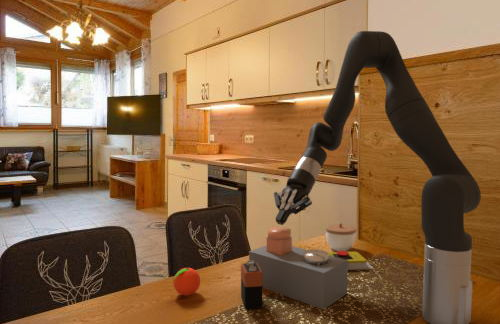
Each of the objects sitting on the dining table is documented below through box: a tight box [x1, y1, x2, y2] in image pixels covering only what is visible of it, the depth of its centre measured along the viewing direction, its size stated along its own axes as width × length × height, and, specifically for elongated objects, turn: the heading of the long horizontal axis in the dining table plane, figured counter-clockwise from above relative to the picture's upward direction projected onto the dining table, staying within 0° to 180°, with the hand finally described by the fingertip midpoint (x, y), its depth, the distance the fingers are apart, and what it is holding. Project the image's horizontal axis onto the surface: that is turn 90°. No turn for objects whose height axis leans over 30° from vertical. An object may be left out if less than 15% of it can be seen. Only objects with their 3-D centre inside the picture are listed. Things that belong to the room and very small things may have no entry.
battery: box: [240, 260, 263, 310], centre depth 93 cm, size 4×7×10 cm, turn 10°
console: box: [248, 244, 349, 310], centre depth 102 cm, size 24×12×9 cm, turn 48°
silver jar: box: [302, 248, 329, 266], centre depth 98 cm, size 6×6×9 cm
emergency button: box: [326, 251, 374, 271], centre depth 120 cm, size 9×4×15 cm
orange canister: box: [266, 226, 293, 255], centre depth 105 cm, size 6×6×9 cm
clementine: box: [172, 267, 201, 296], centre depth 98 cm, size 8×7×7 cm
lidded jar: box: [325, 222, 357, 252], centre depth 136 cm, size 11×11×9 cm
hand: (279, 222), depth 105 cm, fingers closed
